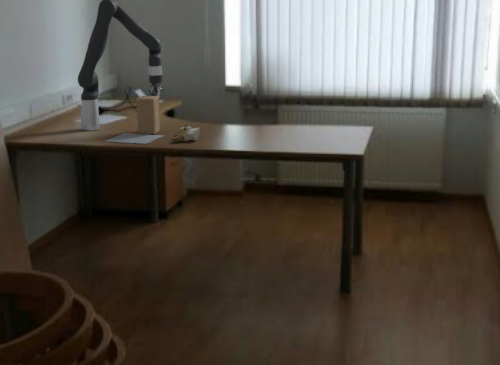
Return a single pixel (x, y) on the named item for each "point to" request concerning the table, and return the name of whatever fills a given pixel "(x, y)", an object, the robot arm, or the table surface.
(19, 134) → the table surface
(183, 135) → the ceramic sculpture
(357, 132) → the table surface
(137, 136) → the mat
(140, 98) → the wooden block
